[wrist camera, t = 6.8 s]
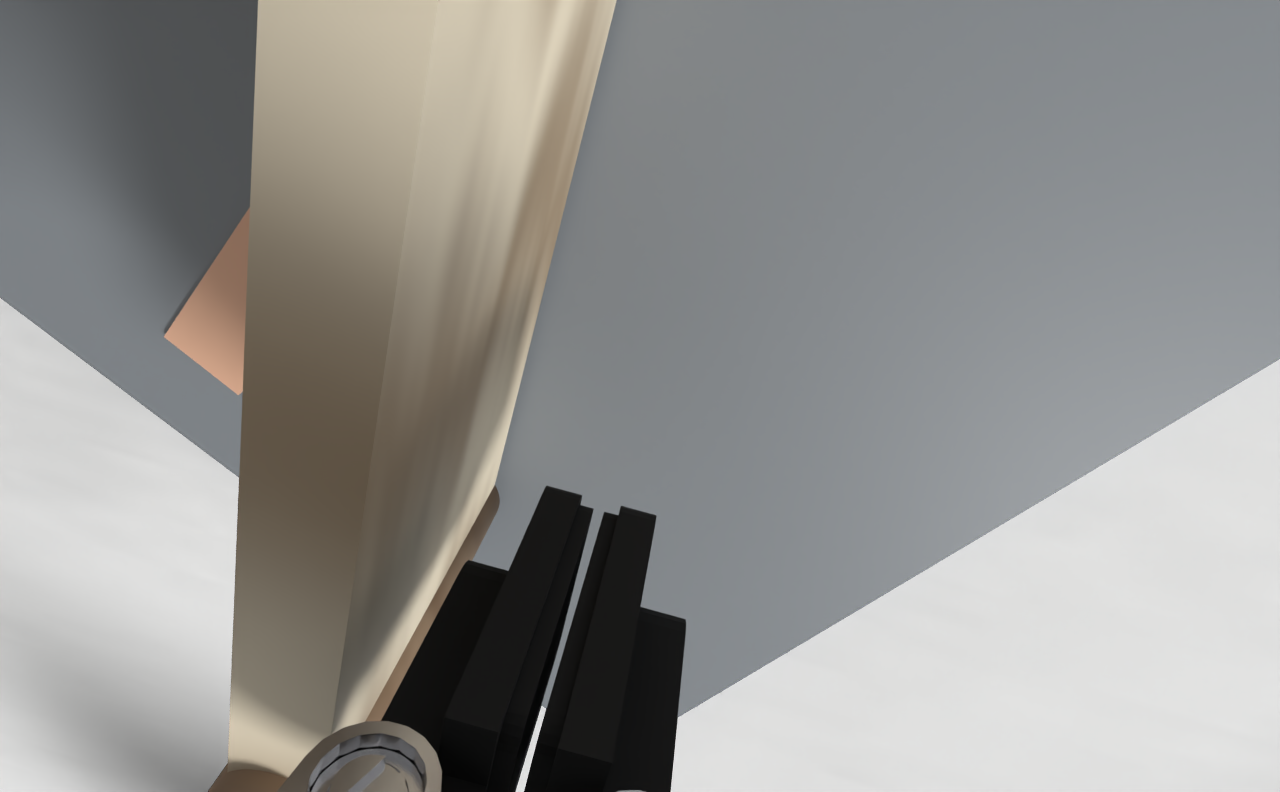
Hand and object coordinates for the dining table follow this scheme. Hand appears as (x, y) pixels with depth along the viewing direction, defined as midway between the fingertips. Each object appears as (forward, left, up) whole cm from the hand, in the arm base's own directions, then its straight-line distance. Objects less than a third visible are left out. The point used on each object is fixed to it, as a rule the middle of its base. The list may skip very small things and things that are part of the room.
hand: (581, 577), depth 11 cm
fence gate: (-1, -4, -4) cm, 6 cm away
